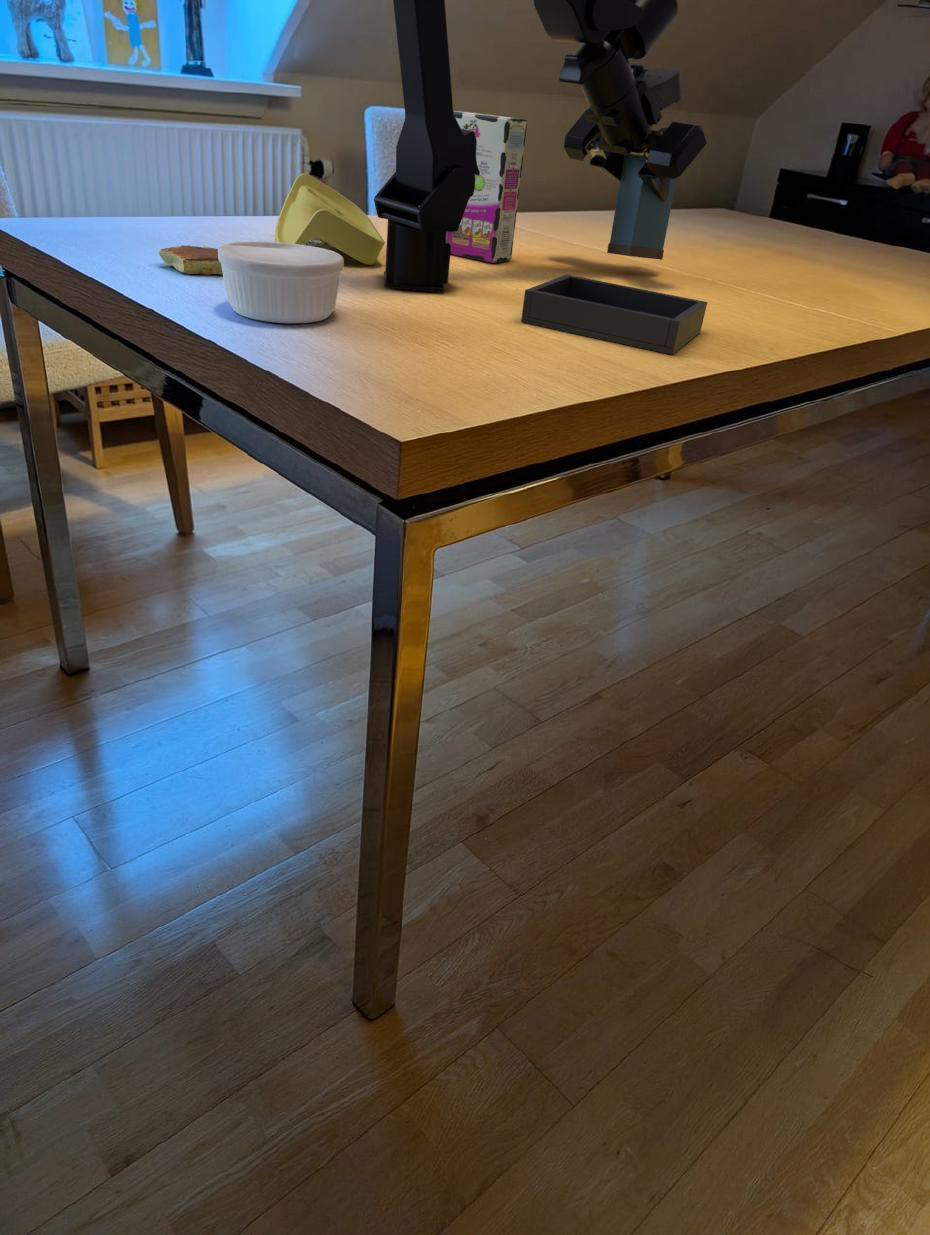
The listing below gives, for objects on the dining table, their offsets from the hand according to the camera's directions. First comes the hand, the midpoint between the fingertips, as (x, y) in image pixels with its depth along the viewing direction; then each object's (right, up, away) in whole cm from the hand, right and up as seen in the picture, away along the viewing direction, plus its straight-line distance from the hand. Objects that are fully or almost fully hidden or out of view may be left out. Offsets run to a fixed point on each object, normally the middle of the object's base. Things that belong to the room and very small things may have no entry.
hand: (652, 196), depth 114 cm
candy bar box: (-24, -6, +3) cm, 25 cm away
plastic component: (-41, -9, -4) cm, 43 cm away
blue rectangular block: (-2, -7, +2) cm, 7 cm away
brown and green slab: (-51, -17, -19) cm, 57 cm away
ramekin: (-41, -26, -32) cm, 59 cm away
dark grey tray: (-9, -25, -24) cm, 36 cm away
